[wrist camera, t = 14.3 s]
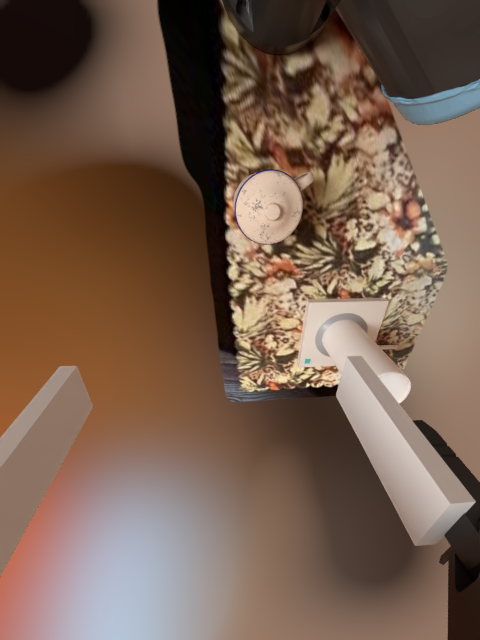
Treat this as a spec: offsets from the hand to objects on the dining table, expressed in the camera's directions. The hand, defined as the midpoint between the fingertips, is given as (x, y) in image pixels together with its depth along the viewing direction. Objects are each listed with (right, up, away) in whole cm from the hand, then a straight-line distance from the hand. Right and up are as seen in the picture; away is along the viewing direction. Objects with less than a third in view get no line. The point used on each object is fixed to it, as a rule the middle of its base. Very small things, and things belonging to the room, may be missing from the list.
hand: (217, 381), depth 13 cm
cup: (+22, 0, +40) cm, 46 cm away
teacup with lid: (+6, +23, +28) cm, 36 cm away
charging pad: (+25, +1, +42) cm, 49 cm away
